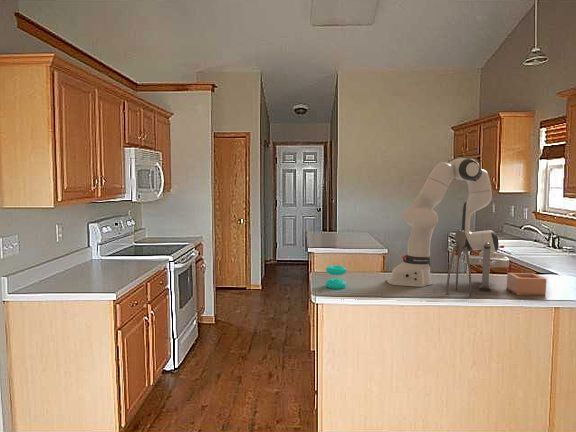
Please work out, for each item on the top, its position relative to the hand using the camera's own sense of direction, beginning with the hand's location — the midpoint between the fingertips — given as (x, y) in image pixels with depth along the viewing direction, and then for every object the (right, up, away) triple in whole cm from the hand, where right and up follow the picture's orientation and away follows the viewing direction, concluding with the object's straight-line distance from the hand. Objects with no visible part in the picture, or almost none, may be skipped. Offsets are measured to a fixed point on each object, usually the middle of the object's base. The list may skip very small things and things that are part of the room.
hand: (486, 263), depth 251 cm
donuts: (-72, -12, +4) cm, 73 cm away
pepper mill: (0, -13, +2) cm, 13 cm away
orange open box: (+18, -14, -2) cm, 23 cm away
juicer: (-15, -14, -4) cm, 21 cm away
